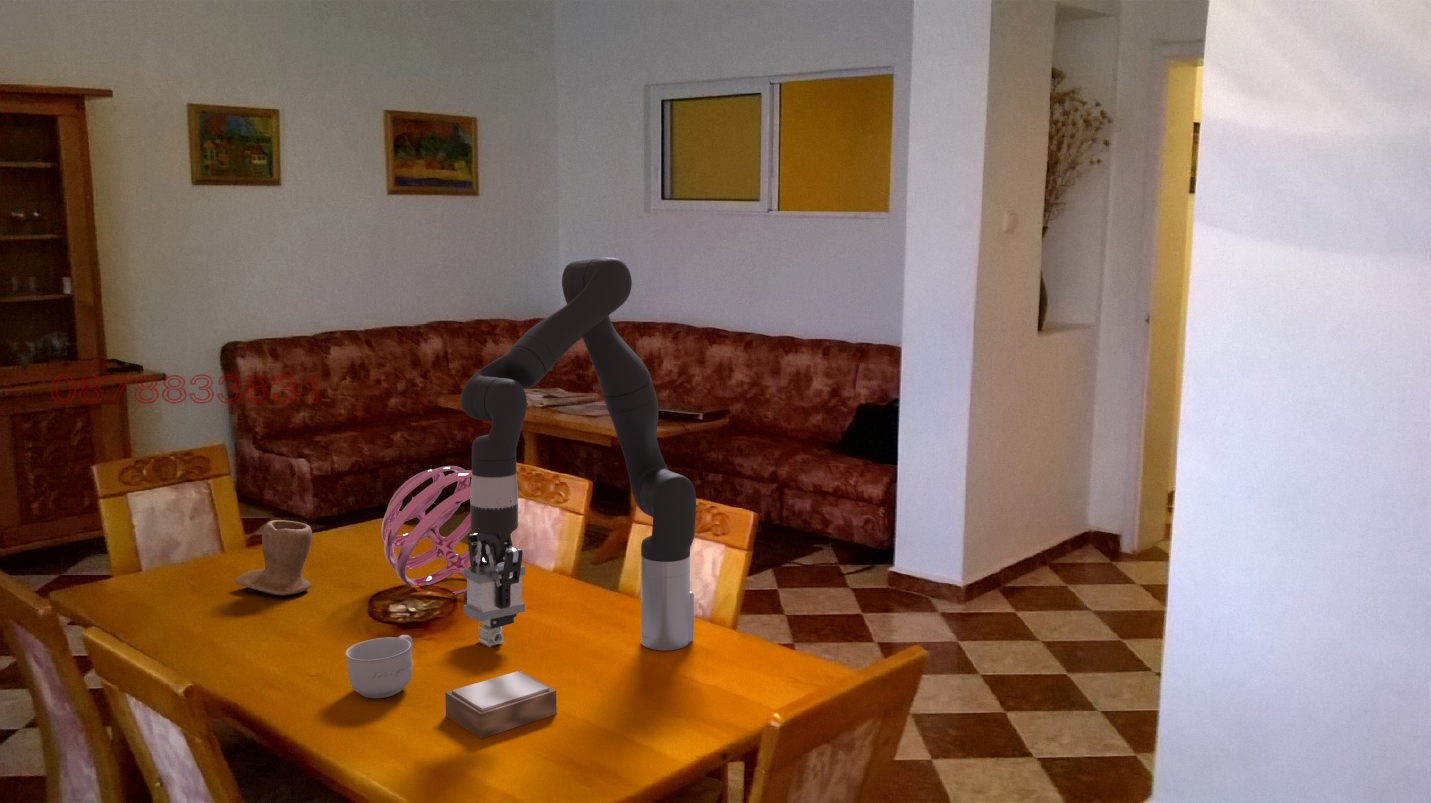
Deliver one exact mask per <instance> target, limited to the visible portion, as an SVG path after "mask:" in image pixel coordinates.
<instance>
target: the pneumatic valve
mask: <svg viewBox="0 0 1431 803" xmlns="http://www.w3.org/2000/svg"><path fill="white" fill-rule="evenodd" d="M463 598H464V599H463V600H464V603H465V604H464V605H467V591H466V593H465V594H464V597H463ZM517 614H518V613H517ZM517 614H513V615H508V616H503V617H499V618H494V619H490V620H485V621H481V622H479V623H480V625H478V626H477V628H478V632H477V634H478V636H479V638H478V642H479V644H482V645H484V646H486V647H488V648H491V647H492V646H497V645H502V644H504V635H503V631H504V627H503V626H507V625H512V624H514V623H515V617H517V616H518V615H517ZM467 617H469V616H467ZM469 618H471V617H469ZM471 619H473V618H471ZM473 620H475V619H473ZM475 621H476V620H475ZM482 624H483V625H482Z"/></svg>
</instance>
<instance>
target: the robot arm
mask: <svg viewBox="0 0 1431 803" xmlns="http://www.w3.org/2000/svg"><path fill="white" fill-rule="evenodd" d="M632 281H633V280H632V275H631V272H630V269H629V268H628V266H627V265H626V263H625V262H624V261H622V260H621V259H619V258H617V257H610V256H609V257H608V256H604V257H593V258H586V259H585V258H584V259H578V260H574V261H571V262H569V263H568V264H566V266H565V268H564V270H563V272H562V277H561V288H562V292H563V297H564V300H565V303H566V305H565V306H563V307H562V308H560V309H558V310H556V311H555V312H554V313H552V314H551V315H550V314H549V316H547V317H545V318H544V319H542V320H541V321H539V322H537V324H535V325H534V326H532V327H530V328H529V329H528V330H527V331H526V332H525V333H524V334H523V335H522V336H521V337H520V338H519V339H518V340H517V341H516V342H515V343H514V344H513V346H511V348H510V349H509V350H508V351H507V352H506V353H505V354H504V355H502V356H500V357H499V358H497V359H495V360H493V361H492V362H490V363H489V364H487V365H486V366H484V367H482V368H481V369H479V370H478V371H477V372H476V373H474V374H473V375H472V376H471V377H470V378H469V379H468V380H467V381H466V383H465V385H464V386H463V389H462V392H461V394H460V395H461V396H460V405H461V408H462V410H463V412H464V413H465V414H466V415H467V416H468V417H470V418H473V419H475V420H480V421H486V422H487V421H488V422H492V423H491V428H490V431H489V434H485V435H481V436H478V437H476V438H475V439H474V440H473V442H472V446H471V471H472V477H470V478H471V481H470V485H469V487H470V500H469V501H470V502H469V503H470V504H469V505H470V506H469V507H470V508H469V509H470V510H469V511H470V512H469V513H470V526H471V531H473V532H474V533H470V534H467V535H466V537H467V544H468V545H467V546H468V549H469V555H470V563H469V564H470V567H472V566H478V565H479V566H483V565H488V564H490V567H491V571H492V572H495V573H496V584H497V586H496V606H497V607H498V608H499V609H502V608H507V607H509V606H510V604H511V599H510V598H511V584H515V583H518V582H519V577H520V570H521V565H522V562H523V561H522V560H523V555H524V554H523V550H522V548H517V549H516V548H515V547H513V541H512V536H511V535H512V533H513V532H514V531H516V530H517V529H518V528H519V485H518V478H517V476H518V475H517V447H518V443H519V441H520V436H521V433H522V428H523V424H524V421H525V417H526V413H527V410H528V408H527V406H528V399H527V394H526V391H525V389H528V388H532V387H534V386H536V385H538V383H539V382H541V380H542V379H543V378H544V377H545V375H547V373H549V371H550V370H551V369H552V368H554V366H555V364H557V362H558V361H559V360H560V359H561V358H562V357H563V355H564V354H565V353H567V351H568V350H570V349H571V348H572V347H573V346H574V345H575V344H576V343H577V342H578V341H579V340H580V339H581V338H582V340H583V342H584V344H585V348H586V350H587V353H588V356H589V358H590V361H591V364H592V366H593V368H594V372H595V375H596V377H597V378H596V379H597V380H598V384H599V387H600V390H601V394H602V396H603V397H602V398H603V400H604V402H605V406H606V408H607V411H608V414H609V416H610V418H611V419H610V420H611V422H612V424H613V428H614V430H615V433H616V437H617V440H618V442H619V445H620V447H621V451H622V454H623V457H624V461H625V465H626V470H627V474H628V479H629V484H630V489H631V491H632V492H631V493H632V496H633V499H634V502H635V504H636V505H637V507H638V509H639V510H640V511H642V513H643V514H645V515H647V516H649V517H652V529H651V530H652V531H651V535H649V536H647V537H644V538H643V539H642V541H641V543H640V546H641V547H640V571H641V573H640V590H641V591H640V610H641V611H640V643H641V645H642V646H644V648H648V649H651V650H654V651H655V650H657V651H675V650H679V649H682V648H683V649H684V647H687V646H688V645H689V644H690V642H693V641H694V634H695V633H694V632H695V630H694V628H695V626H694V624H695V622H694V621H695V620H694V619H695V616H694V614H695V611H694V610H695V609H694V608H695V603H694V602H695V594H694V592H693V591H691V547H692V545H693V542H694V539H695V532H696V519H697V518H696V515H697V494H696V489H695V487H694V484H693V482H692V481H691V480H690V479H689V478H688V477H686V476H684V475H682V474H679V473H676V472H673V471H671V470H669V468H668V467H667V464H666V463H665V460H664V457H663V454H662V452H661V449H660V447H659V442H658V436H657V433H658V431H657V430H658V422H659V410H660V409H659V401H658V396H657V392H656V389H655V387H654V384H653V383H654V382H653V380H652V377H651V374H650V372H649V370H648V367H647V366H646V365H645V363H644V362H643V361H642V359H641V358H640V357H639V356H638V354H637V353H636V352H635V351H634V350H633V349H632V348H631V347H630V346H629V345H628V344H627V343H626V341H624V339H623V338H622V337H621V336H620V335H619V333H618V332H617V330H616V328H615V327H614V325H613V322H612V321H611V318H610V315H611V314H613V313H614V312H615V311H617V310H618V309H619V308H620V307H622V306H623V305H624V304H625V302H626V301H628V299H629V296H630V295H631V290H632V286H633V284H632V283H633V282H632ZM476 547H477V548H476ZM502 563H504V566H497V564H502ZM501 571H503V576H502V577H501ZM512 572H513V576H512Z"/></svg>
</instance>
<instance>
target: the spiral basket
mask: <svg viewBox="0 0 1431 803" xmlns="http://www.w3.org/2000/svg"><path fill="white" fill-rule="evenodd" d="M447 471H453V473H449V474H447V475H446V476H445V474H444V472H447ZM431 478H432V480H433V482H432V483H430V484H429V485H428V486H426V488H424V489H423V490H421V492H419V493H417V495H415V496H414V497H413V496H412V498H411V500H410V501H409V502H408V503H407V504H406V505H405V507H403V509H402V510H401V511H400V509H401V507H402V505H403V500H404V499H405V498H406V497H407V496H408V495H409V494H410V493H411V492H412V491H413V490H415V489H416V488H417V487H419V486H420V485H422V484H423V483H424V482H425V481H427V480H429V479H431ZM470 478H472V469H469V470H465V468H462V467H460V466H456V465H447V466H441V467H438V468H437V467H436V468H434V469H427V470H424V471H421V472H419V473H417V474H415V475H413V476H412V477H411V478H409V479H407V480H406V481H405V482H404V483H403V484H402V485H401V486H400V487H399V488H398V489H397V490H396V491H395V493H394V494H393V495H392V497H391V499H390V501H389V503H388V506H387V509H386V511H385V514H384V517H383V520H382V523H381V537H382V539H383V542H384V543H383V544H384V545H383V546H384V548H383V551H384V555H385V558H386V560H387V562H388V563H389V565H390V566H391V567H392V569H393V571H394V572H395V573H396V575H397V576H398V578H399V579H400V580H401V581H402V582H403V583H404V584H405V585H407V586H408V587H410V586H415V585H428V586H432V585H434V584H437V583H438V582H439V583H440V582H441V581H443V580H445V579H447V578H449V577H451V576H452V575H456V574H457V575H460V576H461V577H463V578H464V579H465V580H467V578H465V577H464V572H463V568H467V567H470V565H469V564H470V555H469V548H468V549H467V550H466V551H464V552H463V553H462V554H461V553H460V554H457V553H456V552H455V547H456V545H458V543H459V542H460V541H461V540H463V538H465V537H466V536H467V535H468V533H469V532H470V531H472V529H471V526H470V512H469V514H468V515H467V516H466V517H465V518H464V520H463V521H462V522H461V523H460V524H459V525H458V527H457V528H456V529H454V530H453V531H452V532H451V533H449V535H447V536H442V535H441V533H440V532H439V529H440V528H441V527H442V525H444V524H445V523H446V522H447V521H448V520H449V519H450V518H451V517H452V516H453V515H454V514H455V512H456V511H457V510H458V509H459V507H460V506H461V504H463V503H464V502H466V501H468V500H469V499H470V484H471V481H470ZM455 482H457V484H456V485H457V486H456V488H455V490H454V492H453V494H451V495H450V496H449V497H447V498H446V499H444V500H442V501H441V502H440V503H439V504H437V505H436V506H435V507H434V508H433V509H431V510H430V511H429V512H428V513H427V514H426V510H427V509H428V508H429V507H431V505H433V503H434V502H435V501H436V500H437V498H439V496H440V494H441V493H442V491H443V489H444V488H446V487H447V486H449V485H451V484H452V483H455ZM414 518H417V519H418V520H419V522H418V524H416V526H415V527H414V528H413V529H412V531H410V532H408V533H405V534H401V535H398V533H399V532H400V530H401V528H402V526H404V524H405V522H407V521H410V520H412V519H414ZM387 525H388V526H387ZM424 539H429V541H430V542H432V546H431V548H429V549H428V550H426V551H424V552H422V553H420V554H418V555H415V556H412V557H411V555H412V553H413V551H414V549H415V548H416V547H417V545H418V544H419V542H420V541H421V540H424ZM394 548H400V549H399V552H398V555H397V557H396V554H395V551H394V550H395V549H394ZM476 548H477V547H476ZM440 558H442V559H444V560H445V562H446V565H445V566H444V567H443V568H441V569H439V570H437V571H434V572H433V573H430V574H429V575H426V576H423V577H418V578H409V577H408V576H407V575H406V570H407V571H408V570H413V569H417V568H419V567H422V566H425V565H428V564H429V563H432V562H433V561H434V560H437V559H440ZM466 591H467V587H466V588H463V589H459V590H456V591H452V592H453V593H455V594H456V596H455V597H457V596H462V595H465V593H466Z"/></svg>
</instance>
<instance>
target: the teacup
mask: <svg viewBox="0 0 1431 803" xmlns="http://www.w3.org/2000/svg"><path fill="white" fill-rule="evenodd" d="M413 645H414V643H413V639H412V637H411V636H410V635H408V634H401V635H400V636H398V637H393V636H391V637H389V636H388V637H378V638H372V639H367V640H363V641H360V642H358V643H357V642H356V643H355V644H353V645H351V646H349V647H348V648H347V649H346V651H345V653H344V655H345V658H346V664H347V665H346V666H347V675H348V679H349V683H350V686H351V688H352V689H353V690H354V691H355V693H356V692H357V693H358V694H360V695H362V696H363V697H365V698H368V699H382V698H383V699H384V698H388V697H391V696H395V695H396V694H399V693H400V692H401V691H402V690H403V689H404V688H405V687H406V686H407V685H408V684H409V683H410V681H411V680H412V676H413V657H412V651H413V648H414V647H413Z"/></svg>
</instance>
